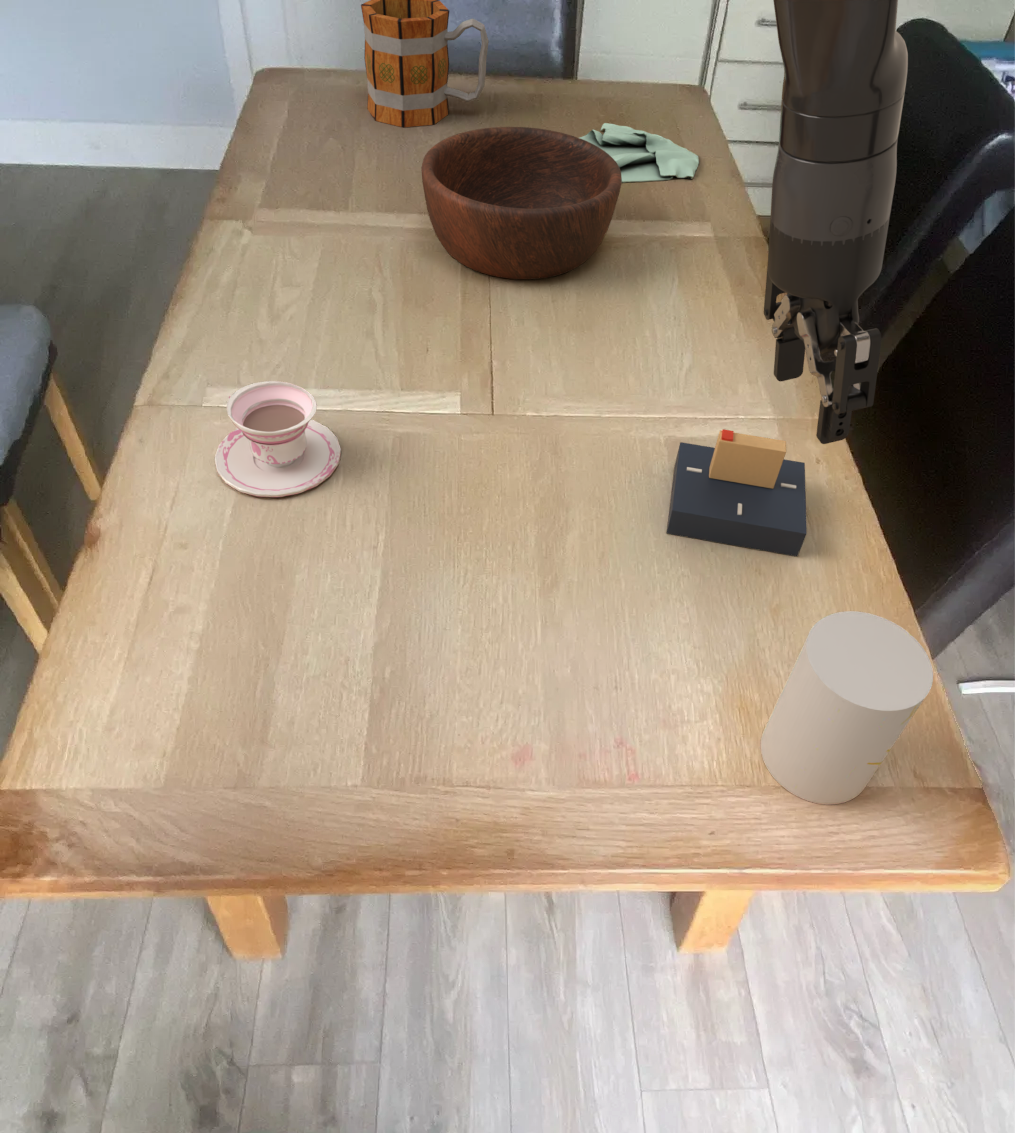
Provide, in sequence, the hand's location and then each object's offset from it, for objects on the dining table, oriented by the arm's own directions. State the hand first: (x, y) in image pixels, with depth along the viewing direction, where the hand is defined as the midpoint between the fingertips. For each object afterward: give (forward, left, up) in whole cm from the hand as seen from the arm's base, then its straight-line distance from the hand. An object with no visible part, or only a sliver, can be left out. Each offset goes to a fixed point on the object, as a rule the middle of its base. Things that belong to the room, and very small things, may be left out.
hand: (808, 406), depth 71 cm
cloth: (+21, -83, -16) cm, 87 cm away
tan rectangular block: (+2, -6, -13) cm, 14 cm away
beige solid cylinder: (-5, +21, -16) cm, 27 cm away
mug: (+55, -89, -16) cm, 106 cm away
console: (+2, -5, -16) cm, 17 cm away
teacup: (+46, -1, -16) cm, 49 cm away
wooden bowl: (+32, -50, -16) cm, 62 cm away
